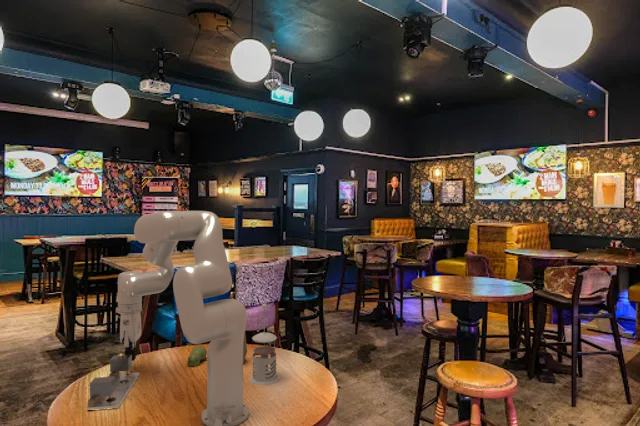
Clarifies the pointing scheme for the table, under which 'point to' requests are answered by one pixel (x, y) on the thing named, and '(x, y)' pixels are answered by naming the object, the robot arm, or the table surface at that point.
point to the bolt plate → (118, 391)
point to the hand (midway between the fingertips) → (130, 360)
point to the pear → (197, 356)
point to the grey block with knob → (121, 363)
